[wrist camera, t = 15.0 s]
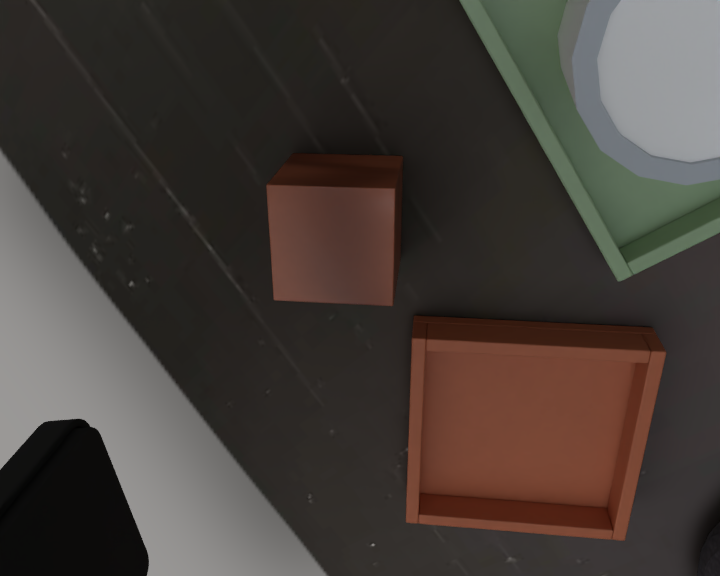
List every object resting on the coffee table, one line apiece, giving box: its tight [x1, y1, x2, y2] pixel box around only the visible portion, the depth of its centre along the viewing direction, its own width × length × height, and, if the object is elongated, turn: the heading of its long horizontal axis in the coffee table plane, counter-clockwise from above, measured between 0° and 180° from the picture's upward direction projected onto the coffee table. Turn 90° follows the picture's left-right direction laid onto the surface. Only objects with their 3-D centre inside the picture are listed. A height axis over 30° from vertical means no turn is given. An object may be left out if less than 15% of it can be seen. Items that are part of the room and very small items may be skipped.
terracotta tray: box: [406, 316, 666, 541], centre depth 31 cm, size 10×10×2 cm
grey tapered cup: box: [557, 0, 720, 185], centre depth 20 cm, size 7×7×7 cm
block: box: [266, 153, 403, 306], centre depth 26 cm, size 4×4×4 cm
